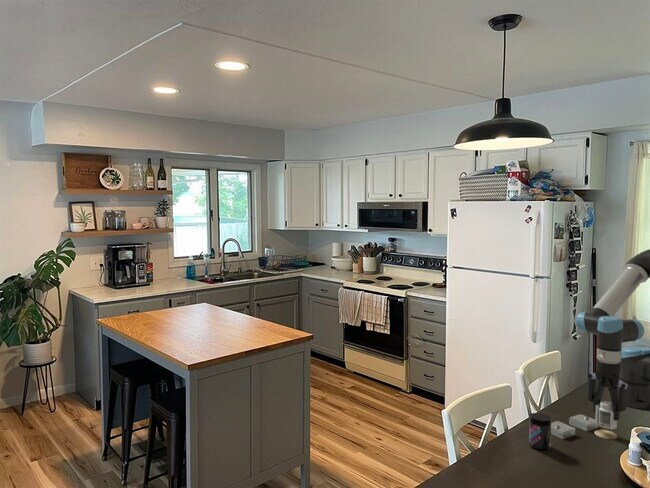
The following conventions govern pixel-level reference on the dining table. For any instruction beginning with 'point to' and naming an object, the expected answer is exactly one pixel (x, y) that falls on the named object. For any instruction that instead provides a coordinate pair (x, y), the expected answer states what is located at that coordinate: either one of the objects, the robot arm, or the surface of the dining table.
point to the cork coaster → (605, 434)
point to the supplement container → (540, 431)
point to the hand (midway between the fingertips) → (605, 425)
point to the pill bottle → (605, 414)
